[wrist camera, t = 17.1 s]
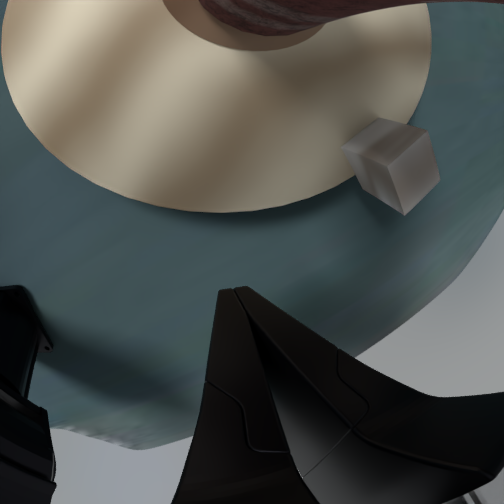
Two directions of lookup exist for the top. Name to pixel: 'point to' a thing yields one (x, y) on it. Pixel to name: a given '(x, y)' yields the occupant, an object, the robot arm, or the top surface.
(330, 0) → the can
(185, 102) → the turntable
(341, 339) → the top surface
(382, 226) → the top surface
